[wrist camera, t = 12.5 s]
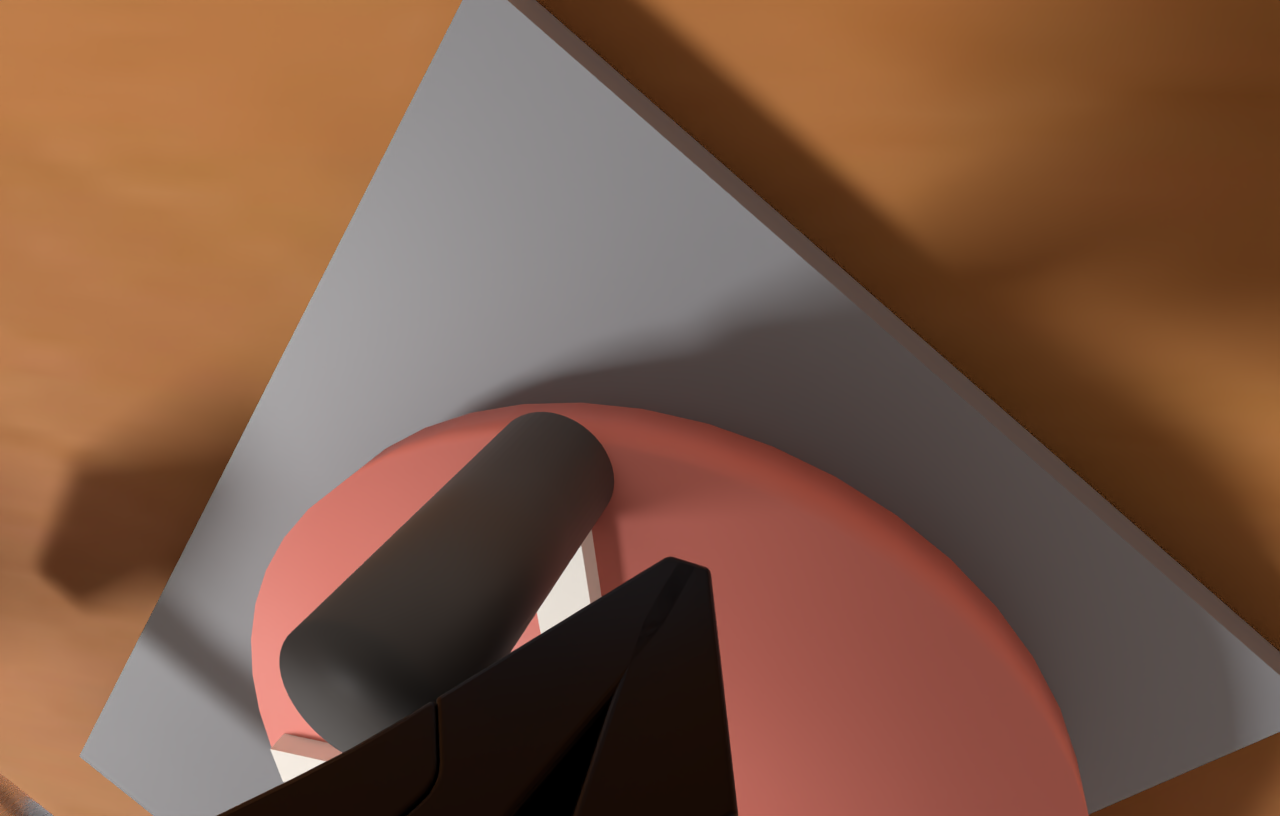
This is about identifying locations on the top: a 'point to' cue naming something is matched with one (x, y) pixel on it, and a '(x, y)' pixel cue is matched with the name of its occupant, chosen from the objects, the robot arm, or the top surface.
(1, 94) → the top surface
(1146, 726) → the mounting plate
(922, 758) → the handwheel
